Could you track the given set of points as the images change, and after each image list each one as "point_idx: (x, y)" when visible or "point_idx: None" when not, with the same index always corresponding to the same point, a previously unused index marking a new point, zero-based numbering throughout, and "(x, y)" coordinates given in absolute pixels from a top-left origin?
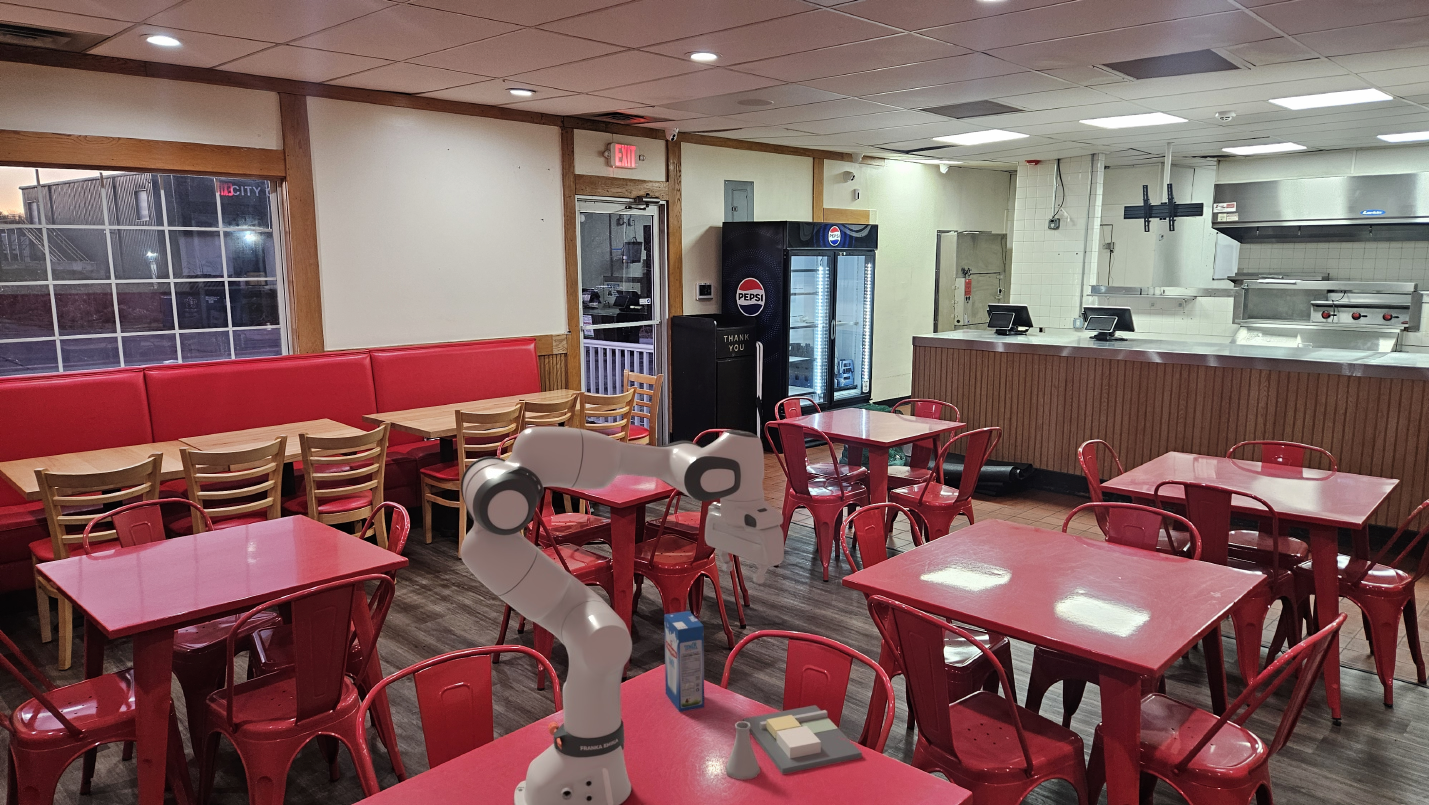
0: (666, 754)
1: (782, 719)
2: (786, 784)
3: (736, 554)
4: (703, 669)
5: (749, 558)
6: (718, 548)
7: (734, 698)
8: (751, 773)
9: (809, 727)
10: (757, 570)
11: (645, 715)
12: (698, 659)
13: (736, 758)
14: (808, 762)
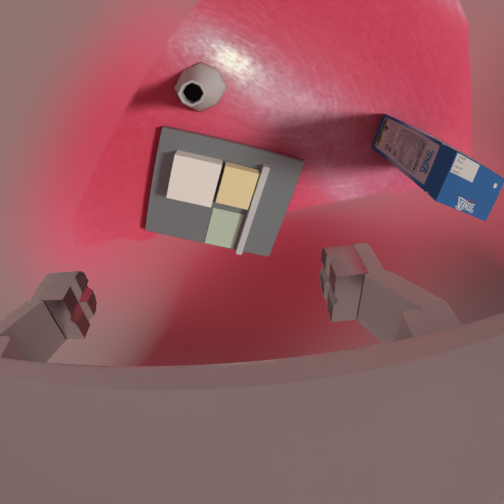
0: (302, 28)
1: (244, 192)
2: (142, 117)
3: (155, 373)
4: (396, 166)
5: (1, 366)
6: (446, 333)
7: (361, 193)
8: (176, 86)
9: (227, 217)
10: (13, 321)
11: (405, 75)
12: (408, 165)
13: (191, 74)
14: (156, 164)
